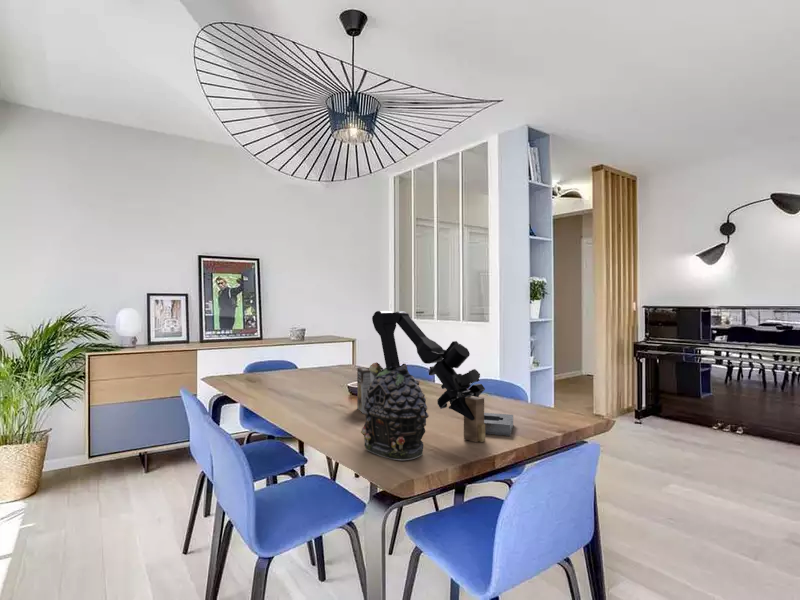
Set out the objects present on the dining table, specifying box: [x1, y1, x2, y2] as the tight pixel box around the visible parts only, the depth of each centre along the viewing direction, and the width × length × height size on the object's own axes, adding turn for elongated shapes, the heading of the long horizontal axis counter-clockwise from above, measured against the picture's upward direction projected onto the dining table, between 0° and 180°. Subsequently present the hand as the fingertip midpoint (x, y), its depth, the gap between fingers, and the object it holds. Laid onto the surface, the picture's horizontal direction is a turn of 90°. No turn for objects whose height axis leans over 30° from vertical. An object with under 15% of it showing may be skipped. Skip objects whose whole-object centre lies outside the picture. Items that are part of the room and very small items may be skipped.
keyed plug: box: [463, 396, 486, 443], centre depth 136 cm, size 6×4×12 cm
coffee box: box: [356, 367, 371, 414], centre depth 174 cm, size 9×6×16 cm
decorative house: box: [360, 362, 430, 461], centre depth 125 cm, size 21×15×25 cm
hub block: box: [484, 412, 514, 437], centre depth 149 cm, size 14×14×4 cm
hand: (477, 418), depth 136 cm, fingers closed on keyed plug, 4 cm apart
